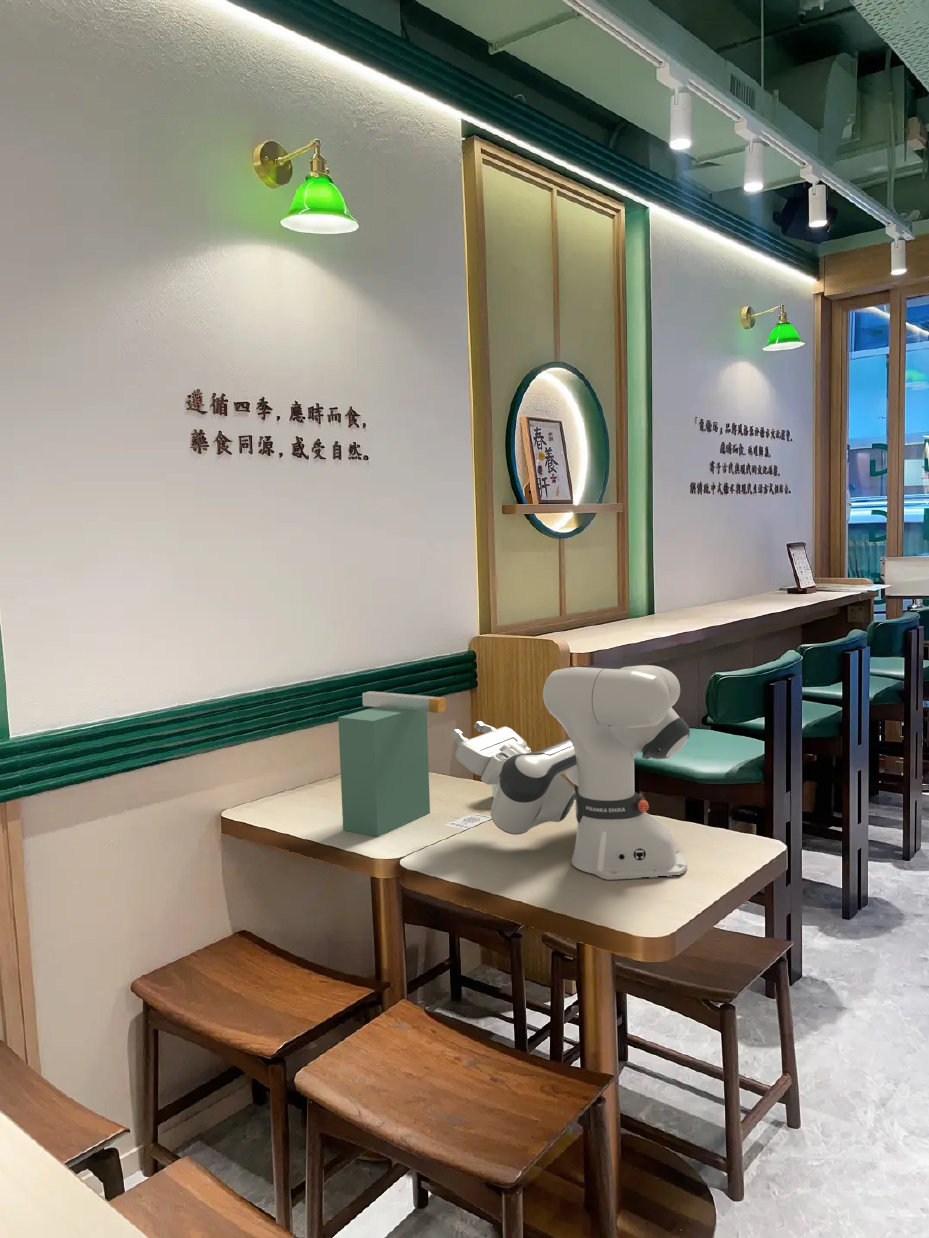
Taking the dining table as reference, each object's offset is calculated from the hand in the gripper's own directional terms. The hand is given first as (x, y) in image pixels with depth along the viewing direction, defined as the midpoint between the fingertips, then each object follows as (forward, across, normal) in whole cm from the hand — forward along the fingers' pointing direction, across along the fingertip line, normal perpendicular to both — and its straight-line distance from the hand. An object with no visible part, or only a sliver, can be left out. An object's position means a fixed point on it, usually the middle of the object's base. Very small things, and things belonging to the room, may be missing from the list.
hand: (464, 727), depth 208 cm
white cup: (-7, -25, +22) cm, 34 cm away
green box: (+5, +5, +29) cm, 30 cm away
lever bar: (+16, 0, +6) cm, 17 cm away
